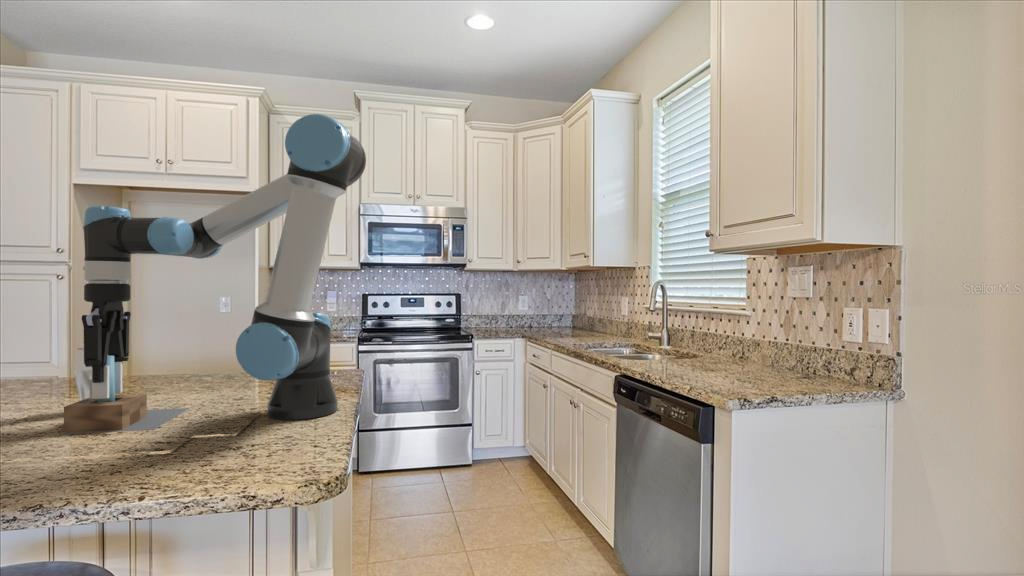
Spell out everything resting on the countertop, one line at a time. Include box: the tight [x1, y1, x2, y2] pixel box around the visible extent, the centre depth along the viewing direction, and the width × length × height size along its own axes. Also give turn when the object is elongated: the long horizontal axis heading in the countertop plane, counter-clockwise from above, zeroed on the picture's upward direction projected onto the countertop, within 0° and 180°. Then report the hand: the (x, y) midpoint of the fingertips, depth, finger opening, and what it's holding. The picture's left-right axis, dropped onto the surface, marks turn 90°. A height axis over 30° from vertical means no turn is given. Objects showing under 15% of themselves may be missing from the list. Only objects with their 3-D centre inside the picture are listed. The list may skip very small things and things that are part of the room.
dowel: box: [98, 356, 116, 403], centre depth 105 cm, size 3×3×14 cm
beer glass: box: [73, 346, 92, 401], centre depth 116 cm, size 7×7×15 cm
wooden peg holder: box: [63, 393, 148, 433], centre depth 106 cm, size 10×10×5 cm
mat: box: [60, 407, 190, 435], centre depth 109 cm, size 16×18×1 cm
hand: (107, 395), depth 106 cm, fingers open, 4 cm apart
